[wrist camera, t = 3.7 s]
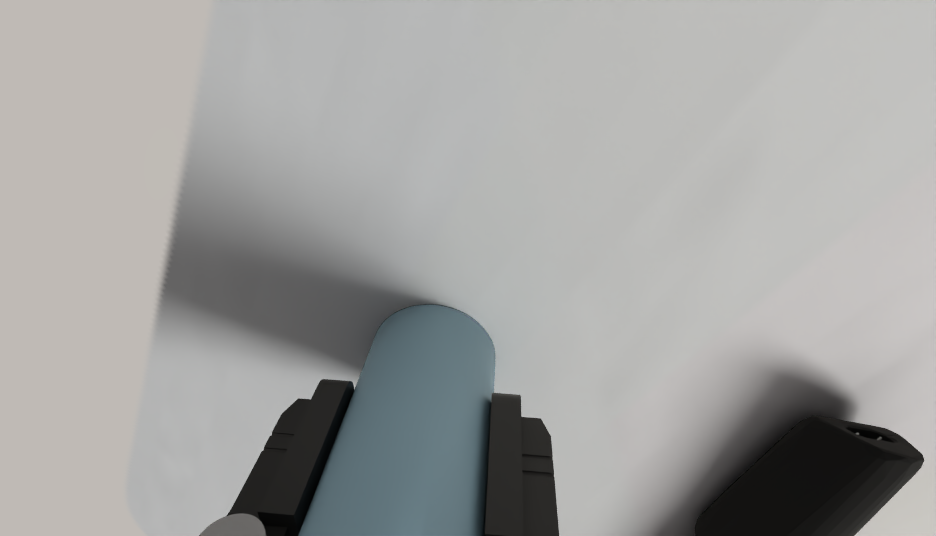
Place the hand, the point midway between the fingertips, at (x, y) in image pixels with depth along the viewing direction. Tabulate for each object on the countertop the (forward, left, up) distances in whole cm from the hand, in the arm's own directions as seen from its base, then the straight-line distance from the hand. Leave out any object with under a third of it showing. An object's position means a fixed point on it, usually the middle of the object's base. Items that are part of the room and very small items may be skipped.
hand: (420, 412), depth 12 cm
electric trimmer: (+8, +11, -3) cm, 14 cm away
